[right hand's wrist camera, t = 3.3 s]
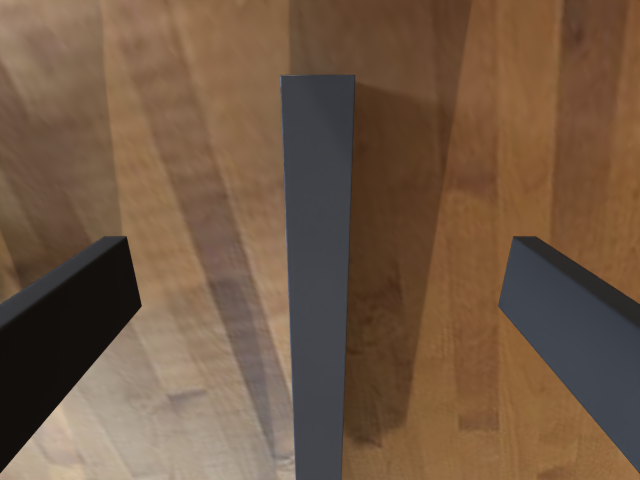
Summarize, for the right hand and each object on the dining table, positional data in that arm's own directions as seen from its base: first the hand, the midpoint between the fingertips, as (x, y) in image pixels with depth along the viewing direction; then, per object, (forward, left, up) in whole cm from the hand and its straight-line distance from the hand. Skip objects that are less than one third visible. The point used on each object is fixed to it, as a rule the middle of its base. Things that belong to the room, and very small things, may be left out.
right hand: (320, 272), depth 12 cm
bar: (+3, -27, -22) cm, 35 cm away
